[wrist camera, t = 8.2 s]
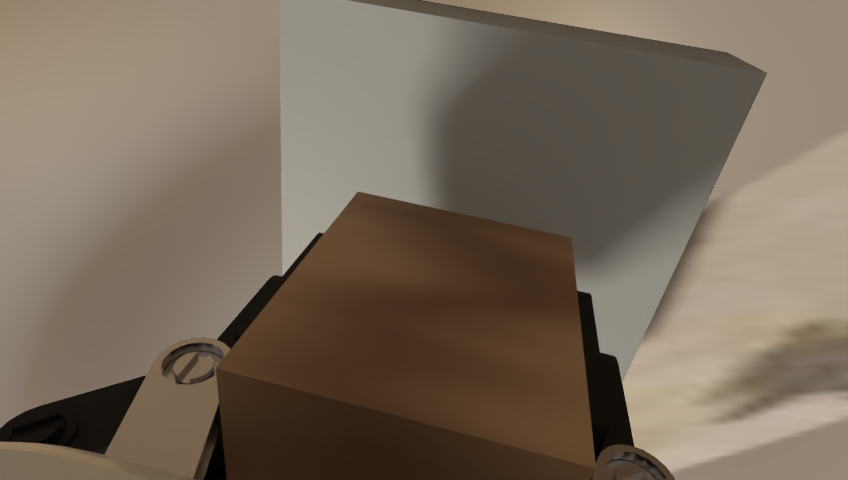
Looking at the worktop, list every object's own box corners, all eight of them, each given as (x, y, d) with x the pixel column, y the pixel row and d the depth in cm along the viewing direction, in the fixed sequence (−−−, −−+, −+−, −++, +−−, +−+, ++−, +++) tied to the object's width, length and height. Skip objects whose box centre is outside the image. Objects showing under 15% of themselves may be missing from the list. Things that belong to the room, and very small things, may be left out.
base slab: (726, 52, 14) (766, 73, 12) (596, 363, 20) (603, 421, 18) (323, -17, 16) (279, -12, 13) (314, 294, 22) (283, 339, 19)
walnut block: (571, 237, 11) (595, 467, 6) (519, 394, 14) (506, 651, 9) (357, 191, 12) (215, 367, 7) (345, 350, 14) (235, 567, 9)
